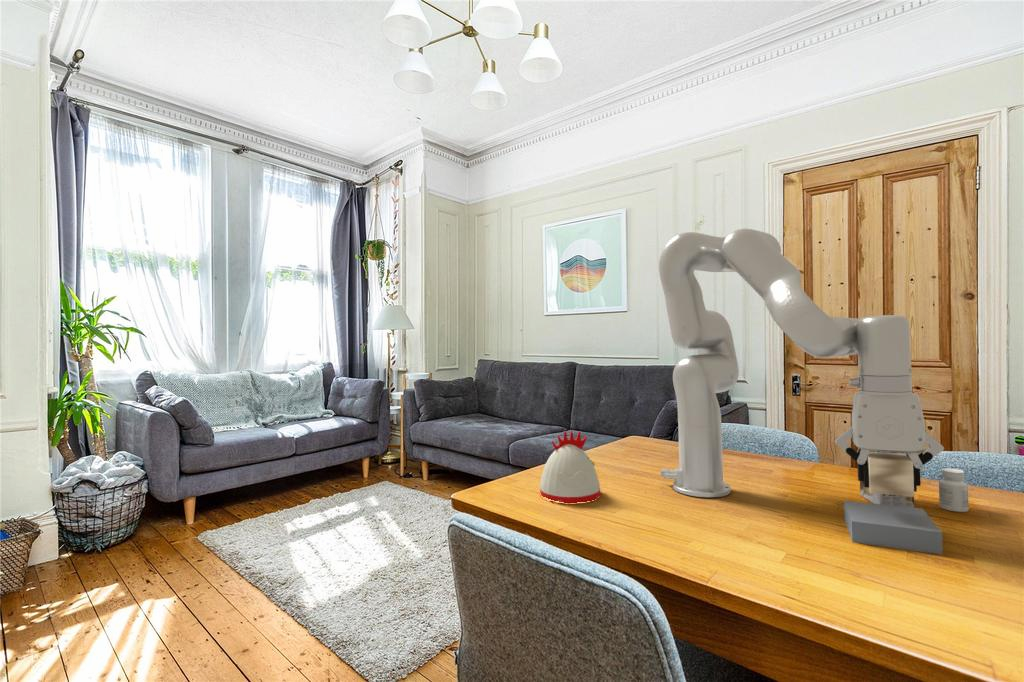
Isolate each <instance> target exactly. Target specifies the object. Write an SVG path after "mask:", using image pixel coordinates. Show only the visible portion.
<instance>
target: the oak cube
mask: <svg viewBox="0 0 1024 682" xmlns="http://www.w3.org/2000/svg"><path fill="white" fill-rule="evenodd" d="M866 461H867V465H868V469H869V487H868V489H869V491H870V493H876V494H887V495H898V496H909V497H914V498H915V492H914V475H913V461H912V460H911V459H910V458H909V457H908V456H907V455H905V454H899V453H883V452H870V453H869V455H868V457H867V459H866Z"/></svg>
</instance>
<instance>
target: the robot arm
mask: <svg viewBox="0 0 1024 682" xmlns="http://www.w3.org/2000/svg"><path fill="white" fill-rule="evenodd" d="M779 242H780V241H779V240H778V239H777V238H776V237H775V236H774V235H772V234H770V233H768V232H764V231H760V230H757V229H752V228H740V229H739V228H738V229H737V230H733V231H731V232H730V233H729V234H728V235H727V236H716V235H715V236H714V235H710V234H704V233H700V232H696V231H695V232H687V231H686V232H681V233H679V234H677V235H675V236H673V237H672V238H671V239H670V240H669V241H668V242H667V243H666V244H665V245H664V247H663V249H662V250H661V253H660V256H659V260H658V272H659V278H660V282H661V283H660V284H661V287H662V291H663V295H664V300H665V305H666V307H665V308H666V313H667V318H668V323H669V329H670V334H671V338H672V341H673V343H674V344H675V345H676V346H677V347H679V348H680V349H683V350H692V351H693V350H697V354H692V355H688V356H686V357H682V359H680V360H679V361H678V362H677V363H676V365H675V366H674V369H673V372H672V383H673V388H674V393H675V398H676V403H677V404H676V407H677V423H678V424H677V425H678V427H677V429H678V461H679V462H678V463H679V465H678V468H676V467H675V468H674V469H670V468H663V467H662V468H661V469H660V476H661V477H664V479H668V480H670V479H671V480H674V482H673V483H672V488H673V489H674V491H676V492H677V493H680V494H681V495H682V494H683V495H687V496H691V497H696V498H721V497H725V496H729V494H730V493H731V490H732V489H731V486H730V485H729V484H728V483H727V482H725V481H724V473H723V472H724V468H723V467H724V466H723V465H724V464H723V463H724V462H723V436H722V434H723V433H722V431H723V429H722V411H721V407H720V404H719V401H718V397H717V394H720V393H724V392H727V391H730V390H731V389H732V388H733V387H734V386H735V385H737V381H738V379H739V374H740V373H739V363H738V358H737V353H736V349H735V344H734V338H733V334H732V333H733V332H732V329H731V326H730V324H729V322H728V319H726V317H725V316H724V315H723V314H721V313H719V312H717V311H714V310H707V308H706V305H705V302H704V296H703V291H702V288H701V285H700V283H699V281H698V279H697V278H696V276H695V271H700V272H708V273H709V272H710V273H729V272H730V273H734V272H735V273H737V274H738V275H739V276H740V277H741V278H742V279H743V280H744V281H745V282H746V283H747V284H748V285H749V286H750V287H751V289H752V290H754V291H755V292H756V293H757V294H758V295H759V296H760V297H761V299H762V300H763V301H764V303H765V306H766V307H765V308H766V309H767V311H768V312H769V314H770V316H771V318H772V320H773V321H774V323H775V324H776V325H777V326H778V327H779V328H780V329H781V331H782V332H784V334H785V335H786V336H787V337H788V338H789V339H791V340H790V341H792V342H793V343H794V344H795V345H796V346H797V347H798V348H799V349H801V350H802V351H803V352H804V353H806V354H808V355H809V356H812V357H815V358H819V359H822V358H824V359H827V358H838V357H845V356H855V355H857V372H858V374H857V376H856V377H854V378H849V379H848V385H849V386H850V387H855V388H857V390H858V391H856V392H854V396H853V401H852V408H851V426H850V427H848V428H847V429H846V430H845V431H843V433H841V434H840V435H839V436H838V437H837V438H835V440H834V443H835V445H836V446H837V447H839V448H840V449H841V450H843V451H844V452H845V453H846V454H847V455H848V456H849V457H851V459H853V460H854V461H855V462H856V464H857V479H858V482H860V481H862V484H863V485H864V487H867V488H868V487H869V469H868V465H867V461H866V459H867V457H868V455H869V453H870V451H886V452H903V453H906V455H907V456H908V457H909V458H910V459H911V460H912V461H913V475H914V493H917V491H918V487H921V469H922V468H923V466H925V465H926V464H927V463H929V462H930V461H931V460H932V459H933V458H935V457H937V455H939V454H940V453H942V452H943V451H944V450H945V447H944V446H943V445H942V444H941V443H940V442H939V441H938V440H936V439H935V438H934V437H933V436H931V435H930V434H929V433H928V432H927V431H926V426H925V425H926V424H925V418H924V412H923V406H922V403H921V402H922V401H921V399H920V396H919V393H915V392H913V380H912V379H913V378H912V352H911V348H912V347H911V328H910V327H911V326H910V321H909V319H908V318H907V317H906V316H904V315H900V314H896V315H895V314H884V315H871V316H870V315H869V316H864V317H860V318H857V317H856V318H855V317H843V316H829V315H828V314H827V313H826V312H824V310H823V309H821V307H819V306H818V305H817V304H816V303H815V302H814V301H813V300H812V298H811V297H809V296H808V295H807V293H806V292H805V290H804V288H803V287H802V285H801V281H802V273H801V271H800V269H799V268H797V266H796V265H794V264H793V263H792V261H791V262H790V260H789V259H788V258H787V257H785V255H783V254H782V248H781V245H780V243H779ZM849 440H852V443H853V444H854V445H855V446H856V447H857V448H858V449H857V451H856V450H855V449H854V448H853V447H852V446H850V445H849V444H848V441H849ZM927 445H928V448H927ZM918 453H919V454H918Z"/></svg>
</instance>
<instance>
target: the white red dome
mask: <svg viewBox="0 0 1024 682" xmlns="http://www.w3.org/2000/svg"><path fill="white" fill-rule="evenodd" d="M569 434H570V435H569V439H568V434H567V432H566V430H563V438H561V437H560V435H558V434H557V439H558V440H557V441H558V444H557V445H556V443H555V442H554V441H553V440H551V443H552V445H553V447H554V448H553V449H554V451H553V452H552V453H551V454H550V456H549V457H548V458H547V461H546V462H545V465H544V468H543V471H542V475H541V479H540V484H539V492H540V493H541V495H542V496H543V497H546V498H548V499H551V500H554V501H559V502H564V503H577V502H587V501H592V500H595V499H597V498H598V497H599V496H600V497H601V485H600V481H599V477H598V474H597V471H596V468H595V465H596V463H595V462H594V461H593V460H592V459H591V458H590V457H589V455H588V454H587V453H586V451H584V450H583V448H584V445H585V444H586V440H587V438H588V437H587V435H585V437H584V438H583V439H582V437H581V431H580V430H579V431H578V432H577V436H576V439H575V438H574V433H573V430H570V433H569ZM540 493H539V494H540ZM541 495H540V496H541ZM600 497H599V498H600ZM599 498H598V499H599ZM598 499H597V500H598ZM595 501H596V500H595ZM592 502H593V501H592Z"/></svg>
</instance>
